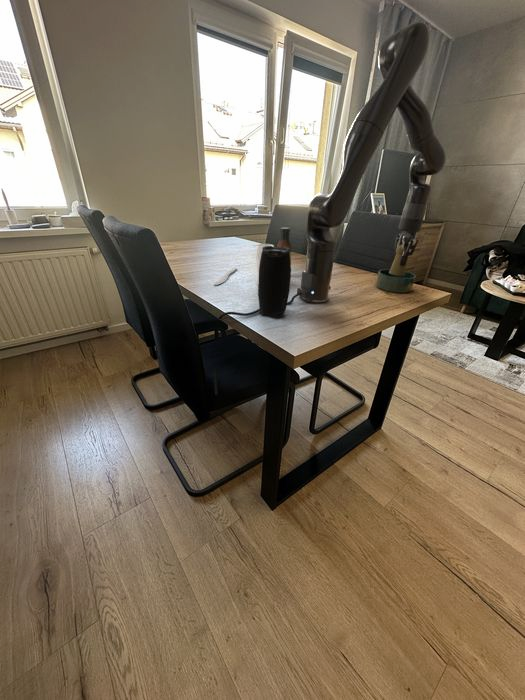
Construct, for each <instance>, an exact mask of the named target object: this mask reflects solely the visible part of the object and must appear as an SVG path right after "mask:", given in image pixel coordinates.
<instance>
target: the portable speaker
mask: <svg viewBox="0 0 525 700" xmlns="http://www.w3.org/2000/svg"><path fill="white" fill-rule="evenodd" d="M262 250H263V251H262V254H261V260H260V265H259V281H258V283H257V285H258V286H257V287H258V288H257V297H258V298H257V299H258V304H259V305H258V306H259V308H260V311H259V314H260V315H261V316H264V317H265V316H266V315H268V316H273V318H275V319H278V318H282V317H283V316H285V313H286V310H287V307H288V305H287V303H288V302H289V297H290V289H291V276H292V261H291V262H290V249H289V248H287V247H282V248H277V247H275V246H274V247H272V246H265V247H263V249H262Z"/></svg>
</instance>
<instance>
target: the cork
mask: <svg viewBox="0 0 525 700" xmlns="http://www.w3.org/2000/svg"><path fill="white" fill-rule="evenodd" d="M405 247H408V246H405ZM402 252H403V249H402V245H399V246H398V247H397V249H396V250H395V256H396V257H395V256H394V259H393V262H392V264H391V266H390V268H389V269H390V271H389V273H390V274H392V275H398V276H404V275H405V271H407V270H406V269H407V262H408V261H407V262H406V265H405V266H400V265H399V264H400V260H401V257H402ZM405 252H406V250H405ZM396 253H397V254H396Z"/></svg>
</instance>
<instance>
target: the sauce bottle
mask: <svg viewBox="0 0 525 700" xmlns="http://www.w3.org/2000/svg"><path fill="white" fill-rule="evenodd" d="M279 232H280V237H279V239H280V240H279V241H278V243H277V247H276V248H282V247H287V248H289V249H290V262H291V263H292V251H293V250H292V244H291V241H290V232H291V228H290V227H280V228H279Z"/></svg>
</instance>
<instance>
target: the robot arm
mask: <svg viewBox="0 0 525 700" xmlns="http://www.w3.org/2000/svg"><path fill="white" fill-rule="evenodd" d="M429 44H430V29H429V26H428V25H427V23H425V22H424V21H415V22H412V23H410V24H407V25H406V26H404V27H402V28H400V29H399V30H397V31H395V32H393V33H392V34H390V35H389V36H388V37H387V38H385V40H383V41H382V44H381V46H380V48H379V52H378V58H377V59H378V60H377V61H378V69H379V72H380V75H381V78H382V79H383V81H382V82H381V84H380V85H379V87H378V88H377V89H376V90H375V91H374V93H373V94H372V96H371V97H370V98H369V99H368V100H367V102H366V103H365V104H364V105H363V107H362V108H361V109H360V111H359V112H358V113H357V115H356V117H355V119H354V121H353V122H352V125H350V128H349V131H348V133H347V135H346V137H345V140H344V143H343V148H342V165H341V171H340V172H341V173H340V175H339V178H338V180H337V181H336V185H335V187H334V188H333V190H332V192H331V193H330V192H329V193H327V192H320V193H317V194H316V195H314V196H313V197H312V198H311V201H310V203H309V206H308V210H307V219H306V235H305V236H306V240H307V248H306V257H305V265H304V270H302V271H301V279H300V287H297V288H296V294H294V295H293V296H292V297H291V298H290V300H289V301H287V306H288V305H289V306H290V304H293V302H294V301H295V298H297V297H299V298H300V299H302V300H304V301H306V302H307V303H314V304H315V303H316V304H317V303H318V304H319V303H325V302H328V299H329V293H330V292H329V291H330V290H331V280H332V275H333V268H334V261H335V256H336V249H337V240H336V239H335V237H333V235H332V232H331V229H334V228H338V227H340V226H341V225H342V224H343V222H344V221H345V219H346V217H347V216H348V214H349V211H350V209H351V206H352V203H353V201H354V198H355V196H356V193H357V191H358V188H359V186H360V183H361V181H362V179H363V177H364V175H365V173H366V170H367V168H368V166H369V164H370V163H371V160H372V158H373V157H374V155H375V152H376V150H377V148H378V146H379V144H380V143H381V141H382V138H383V137H384V134H385V131H386V130H387V127H388V125H389V123H390V121H391V120H392V118H393V115H394V114H395V112H396V111H398V113H399V116H400V118H401V121H402V123H403V126H404V129H405V133H406V137H407V141H408V145H409V148H410V149H411V151H412V152H416V154H415V155H414V157H413V158H412V160H411V163H410V166H409V180H408V181H409V187H408V190H409V191H408V194H407V197H406V201H405V204H404V207H403V210H402V214H401V217H400V221H399V224H398V229H397V230H398V231H401V232H400V233H398V234H396V235H395V241H394V248H393V249H394V251H396V249H397V247H398V246H399V245H402V249H403V252H402V257H401V260H400V264H399V265H400V266H405V265H406V266H407V264H406V262H408V258H409V257H410V256H413V254H414V252H415V250H416V248H417V245H418V243H419V239H416V233H419V232H420V231H421V229H422V225H423V222H424V218H425V215H426V212H427V207H428V202H429V200H430V197H431V193H432V185H431V184H429V183H427V182H425V181H426V180H425V178H426V176H436V175H438V174H440V173H441V172H442V171H443V170H444V167H445V165H446V159H447V156H446V151H445V148H444V146H443V144H442V143H441V141H440V140H439V138H438V136H437V135H436V133H435V128H434V123H433V119H432V115H431V112H430V110H429V108H428V107H427V105H426V103H425V102H424V101H423V100H422V99H421V97H420V96H419V95H418V94H417V92H416V91H415V90H414V88H413V86H412V85H411V83H412V81H413V79H414V78H415V76H416V74H417V73H418V71H419V70H420V68H421V66H422V64H423V62H424V60H425V58H426V55H427V52H428V49H429ZM405 246H408V247H405ZM405 250H406V252H405ZM396 254H397V253H396V252H395V256H394V258H395V257H396ZM257 313H260V307H259V308H258V309H256V310H253V311H250V312H246V313H244V312H236V311H225V312H223V313H221V314H220V315H219V316H218V317H217V320H220V319H222V318H223V317H225V316H229V315H235V316H239V317H248V316H252V315H255V314H257ZM212 372H213V373H212V376H213V384H214V385H213V386H214V396H215V395H217V394H218V384H217V383H218V382H217V371H216V370H214V371H212Z"/></svg>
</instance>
